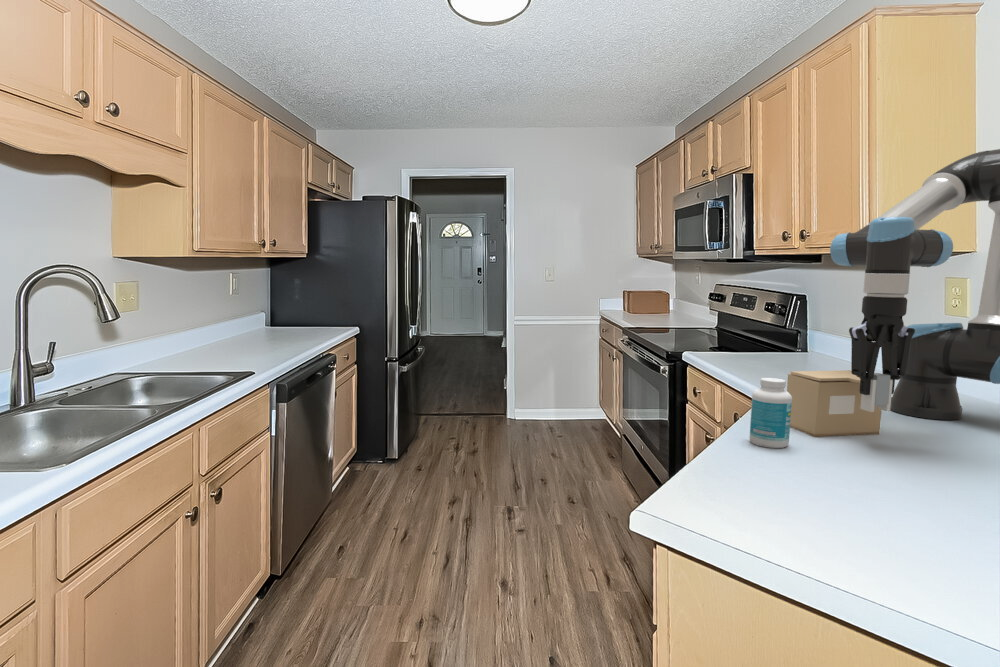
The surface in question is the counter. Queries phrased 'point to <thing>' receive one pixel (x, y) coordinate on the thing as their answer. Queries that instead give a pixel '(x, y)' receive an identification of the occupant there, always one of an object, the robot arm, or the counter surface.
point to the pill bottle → (771, 414)
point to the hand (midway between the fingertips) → (875, 409)
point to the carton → (830, 408)
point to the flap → (846, 375)
